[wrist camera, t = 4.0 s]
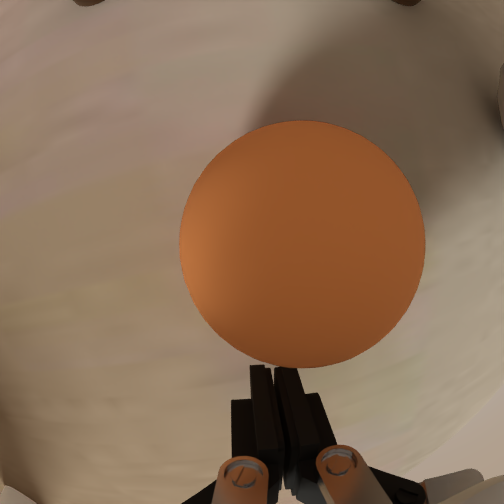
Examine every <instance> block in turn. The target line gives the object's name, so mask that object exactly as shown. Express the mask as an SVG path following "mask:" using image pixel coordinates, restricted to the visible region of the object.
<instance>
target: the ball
mask: <svg viewBox="0 0 504 504" xmlns="http://www.w3.org/2000/svg"><path fill="white" fill-rule="evenodd" d="M179 245H180V260H181V266H182V271H183V275H184V280H185V283H186V285H187V288H188V290H189V293H190V295H191V297H192V300H193V302H194V304H195V305H196V307H197V309H198V310H199V312H200V313H201V315H202V316H203V318H204V319H205V321H206V322H207V323H208V324H209V325H210V326H211V327H212V329H213V330H214V331H215V332H216V333H217V334H218V335H219V336H220V337H221V338H223V339H224V340H225V341H226V342H228V343H229V344H230V345H232V346H233V347H234V348H236V349H237V350H239V351H241V352H243V353H245V354H247V355H249V356H250V357H252V358H254V359H257V360H259V361H262V362H266V363H269V364H273V365H276V366H281V367H288V368H316V367H323V366H328V365H332V364H336V363H340V362H343V361H346V360H348V359H351V358H353V357H355V356H357V355H359V354H361V353H362V352H364V351H366V350H368V349H369V348H371V347H372V346H374V345H375V344H376V343H378V342H379V341H380V340H381V339H382V338H383V337H385V336H386V335H387V334H388V333H389V332H390V331H391V330H392V329H393V328H394V327H395V326H396V324H397V323H398V322H399V320H400V319H401V318H402V316H403V315H404V313H405V312H406V311H407V309H408V307H409V305H410V303H411V301H412V299H413V297H414V295H415V293H416V291H417V288H418V285H419V282H420V278H421V275H422V271H423V266H424V258H425V231H424V224H423V219H422V215H421V211H420V207H419V204H418V201H417V199H416V197H415V194H414V192H413V190H412V188H411V186H410V184H409V182H408V180H407V179H406V177H405V176H404V174H403V173H402V172H401V170H400V169H399V168H398V166H397V165H396V164H395V163H394V161H393V160H392V159H391V158H390V157H389V156H388V155H387V154H386V153H384V152H383V151H382V150H381V149H380V148H379V147H377V146H376V145H375V144H373V143H372V142H370V141H369V140H367V139H366V138H364V137H363V136H361V135H359V134H357V133H354V132H352V131H350V130H348V129H345V128H342V127H339V126H336V125H332V124H329V123H324V122H317V121H287V122H280V123H275V124H272V125H268V126H264V127H261V128H259V129H256V130H254V131H251V132H249V133H247V134H245V135H244V136H242V137H240V138H238V139H237V140H235V141H234V142H232V143H231V144H230V145H229V146H227V147H226V148H225V149H224V150H222V151H221V152H220V153H219V154H217V155H216V157H215V158H214V159H213V160H212V161H211V162H210V163H209V164H208V165H207V167H206V168H205V169H204V171H203V172H202V174H201V175H200V177H199V178H198V180H197V181H196V183H195V184H194V186H193V189H192V191H191V193H190V195H189V198H188V200H187V203H186V206H185V208H184V213H183V217H182V222H181V228H180V243H179Z"/></svg>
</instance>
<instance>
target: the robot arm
mask: <svg viewBox="0 0 504 504" xmlns="http://www.w3.org/2000/svg"><path fill="white" fill-rule="evenodd" d="M250 386H251V399H240V400H231V434H232V458H231V459H229V460H227V461H226V462H225V463H224V464H223V465H222V466H221V467H220V470H219V472H218V477H217V480H215V481H214V482H213V483H211V484H210V485H208V486H207V487H206V488H204V489H203V490H201V491H200V492H198V493H197V494H195V495H194V496H192V497H191V498H189V499H188V500H186V501H185V502H183V503H182V504H276V503H277V502H278V493H279V490H281V486H282V477H283V479H284V485H285V489H291V493H292V496H294V495H296V499H297V500H299V501H300V502H302V503H304V504H504V475H501V476H497V477H493V478H490V479H488V480H485V481H484V478H483V476H482V474H481V473H480V472H479V471H477V470H475V469H465V470H462V471H458V472H455V473H451V474H447V475H443V476H439V477H434V478H430V479H425V480H424V481H423V482H420V483H416V482H414V481H411V480H408V479H405V478H401V477H398V476H395V475H392V474H389V473H386V472H383V471H380V470H378V469H375V468H372V467H369V466H368V465H367V464H366V462H365V461H364V459H363V458H362V456H361V455H360V454H359V452H358V451H357V450H355V449H354V448H352V447H349V446H346V445H337V442H336V439H335V437H334V434H333V431H332V429H331V426H330V423H329V420H328V418H327V415H326V412H325V410H324V407H323V404H322V401H321V399H320V396H319V394H318V393H310V394H305V393H304V389H303V386H302V383H301V380H300V377H299V374H298V370H297V368H288V367H281V366H279V367H275V368H274V384H273V379H272V374H271V369H270V368H265V365H250Z"/></svg>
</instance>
